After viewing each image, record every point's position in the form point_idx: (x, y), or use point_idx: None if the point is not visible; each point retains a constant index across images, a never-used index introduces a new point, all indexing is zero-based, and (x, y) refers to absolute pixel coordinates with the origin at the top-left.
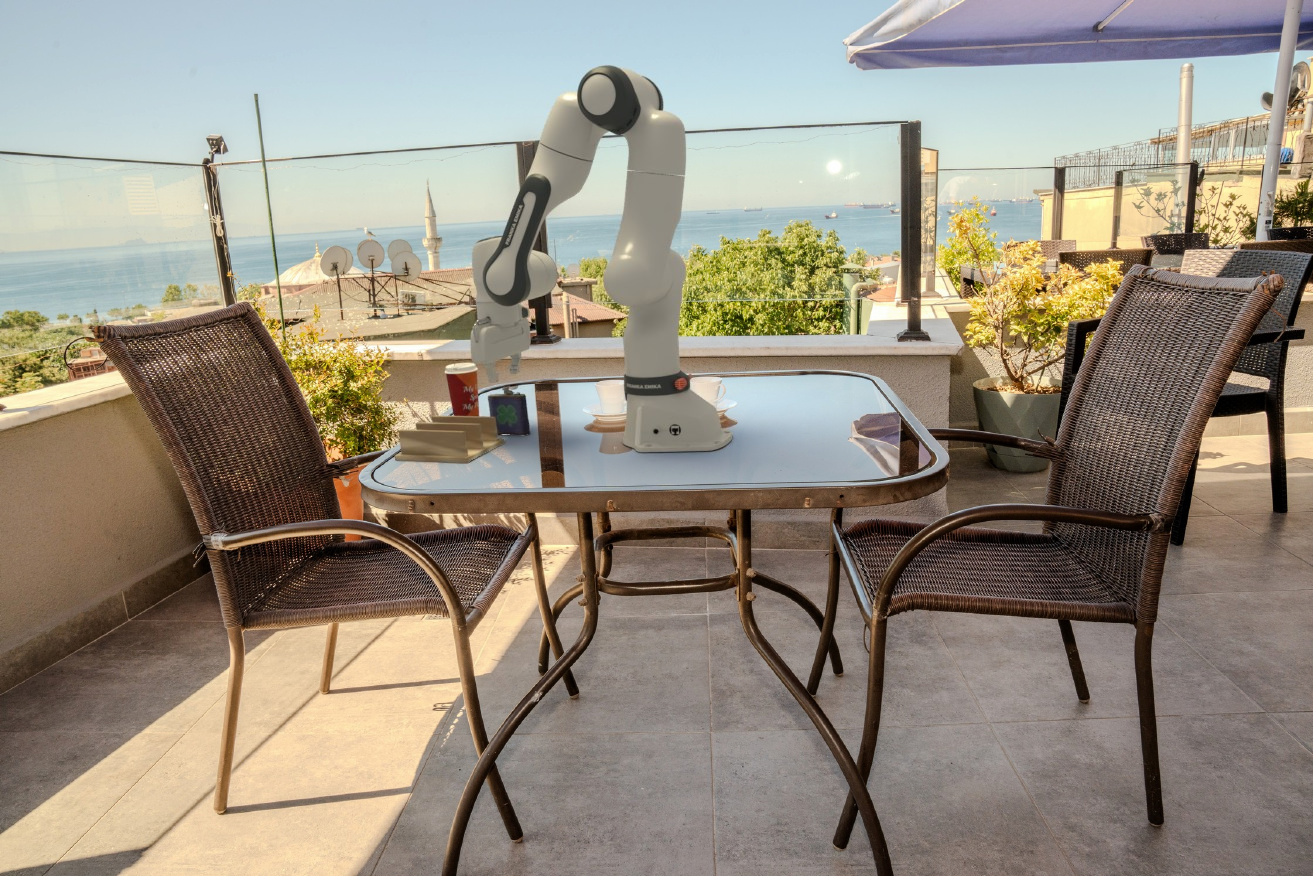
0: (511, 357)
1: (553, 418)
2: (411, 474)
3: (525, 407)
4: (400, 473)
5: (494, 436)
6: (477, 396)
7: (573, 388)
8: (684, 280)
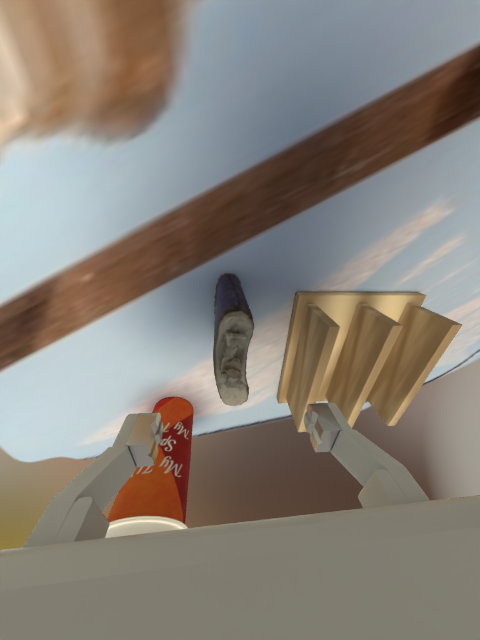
0: (106, 519)
1: (79, 284)
2: None
3: (239, 294)
4: None
5: (319, 308)
6: None
7: None
8: None
